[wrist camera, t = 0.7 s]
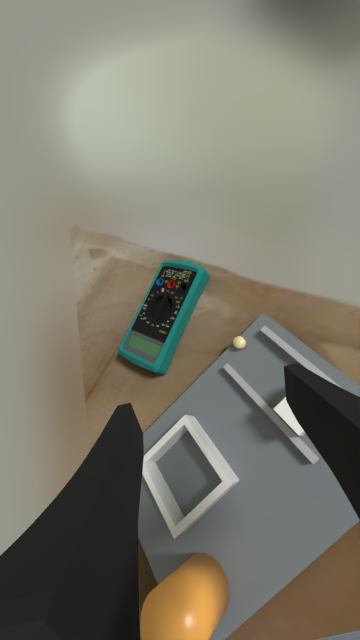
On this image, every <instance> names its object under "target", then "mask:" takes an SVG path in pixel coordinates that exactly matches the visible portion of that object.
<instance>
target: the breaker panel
mask: <svg viewBox="0 0 360 640" xmlns="http://www.w3.org/2000/svg"><path fill="white" fill-rule="evenodd" d="M294 363H298V364H300V365H301V366H303V367H305V368H307V369H308V370H310V371H312V372H314V373H315V374H317V375H319V376H321V377H322V378H324V379H326V380H328V381H330V382H331V383H333V384H335V385H337V386H339V387H341V388H343V389H344V390H346V391H348V392H350V393H352V394H354V395H357V396H359V397H360V387H359V386H358V385H357V384H356V383H354V382H353V381H352V380H350V379H349V378H348V377H346V376H345V375H344V374H343V373H341V372H340V371H339V370H337V369H336V368H335V367H334V366H332V365H331V364H330V363H328V362H327V361H326V360H324V359H323V358H322V357H321V356H319V355H318V354H317V353H315V352H314V351H313V350H311V349H310V348H309V347H308V346H306V345H305V344H304V343H302V342H301V341H300V340H299V339H297V338H296V337H295V336H293V335H292V334H291V333H289V332H288V331H287V330H286V329H284V328H283V327H282V326H280V325H279V324H278V323H277V322H275V321H274V320H273V319H271V318H270V317H269V316H267V315H266V314H265V313H264V312H263V313H262V314H261V315H260V316H259V317H258V318H257V319H256V321H255V322H254V323H253V324H252V325H251V326H250V327H249V328H248V329H247V330H246V331H245V332H244V333H243V334H242V335H241V336H237V337H235V338H234V340H233V344H232V345H231V346H230V347H229V348H228V349H227V350H226V351H225V352H224V353H223V354H222V355H221V356H220V357H219V358H218V359H217V360H216V361H215V362H214V363H213V364H212V365H211V366H210V367H209V368H208V369H207V370H206V371H205V372H204V373H203V374H202V375H201V376H200V377H199V378H198V379H197V380H196V381H195V382H194V383H193V384H192V385H191V386H190V387H189V388H188V389H187V390H186V391H185V392H184V393H183V394H182V395H181V396H180V397H179V398H178V399H177V400H176V401H175V402H174V403H173V404H172V405H171V406H170V407H169V408H168V409H167V410H166V411H165V412H164V413H163V414H162V415H161V416H160V417H159V418H158V419H157V420H156V421H155V422H154V423H153V424H152V425H151V426H150V427H149V428H148V429H147V430H146V431H145V432H144V433H143V444H144V459H143V471H142V482H141V493H140V503H139V516H138V538H139V540H140V543H141V545H142V548H143V550H144V552H145V555H146V557H147V560H148V562H149V565H150V567H151V569H152V572H153V574H154V577H155V579H156V581H157V584H158V585H159V584H160V583H161V582H162V581H163V580H165V579H166V578H167V577H168V576H169V575H170V574H172V573H173V572H174V571H175V570H176V569H177V568H179V567H180V566H181V565H182V564H183V563H184V562H186V561H187V560H188V559H189V558H190V557H191V556H193V555H194V554H197V553H206V554H208V555H210V556H212V557H213V558H214V559H215V560H216V561H217V562H218V563H219V564H220V566H221V567H222V569H223V571H224V573H225V575H226V578H227V581H228V586H229V603H228V607H227V610H226V612H225V613H224V615H223V617H222V618H221V620H220V622H219V623H218V625H217V627H216V628H215V630H214V632H213V633H212V635H211V637H210V638H209V640H225V639H226V638H227V637H228V636H229V635H230V634H231V633H232V632H234V631H235V630H236V629H237V628H238V627H239V626H240V625H242V624H243V623H244V622H245V621H246V620H247V619H248V618H249V617H251V616H252V615H253V614H254V613H255V612H256V611H257V610H258V609H260V608H261V607H262V606H263V605H264V604H265V603H266V602H268V601H269V600H270V599H271V598H272V597H273V596H274V595H275V594H277V593H278V592H279V591H280V590H281V589H282V588H283V587H285V586H286V585H287V584H288V583H289V582H290V581H291V580H292V579H294V578H295V577H296V576H297V575H298V574H299V573H300V572H302V571H303V570H304V569H305V568H306V567H307V566H308V565H309V564H311V563H312V562H313V561H314V560H315V559H316V558H317V557H319V556H320V555H321V554H322V553H323V552H324V551H325V550H326V549H328V548H329V547H330V546H331V545H332V544H333V543H334V542H335V541H337V540H338V539H339V538H340V537H341V536H342V535H343V534H345V533H346V532H347V531H348V530H349V529H350V528H351V527H352V526H354V525H355V524H356V523H357V522H358V521H359V518H358V516H357V514H356V512H355V510H354V509H353V507H352V505H351V503H350V501H349V500H348V498H347V496H346V494H345V493H344V491H343V489H342V487H341V486H340V484H339V482H338V481H337V479H336V477H335V476H334V474H333V472H332V471H331V469H330V468H329V466H328V465H327V463H326V462H325V461H324V459H323V458H322V456H321V455H320V453H319V452H318V450H317V449H316V448H315V446H314V445H313V443H312V442H311V440H310V439H309V438H308V436H307V435H306V433H305V434H304V435H303V436H299V435H298V434H297V433H296V432H295V431H294V430H293V429H292V428H291V427H290V426H289V425H288V424H287V423H286V422H285V421H284V420H283V419H282V418H281V417H280V416H279V414H278V413H277V412H276V411H275V410H274V408H275V407H276V406H277V405H278V404H279V403H280V402H281V401H282V400H283V399H284V398H285V397H286V392H285V378H284V366H286V365H290V364H294Z"/></svg>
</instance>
